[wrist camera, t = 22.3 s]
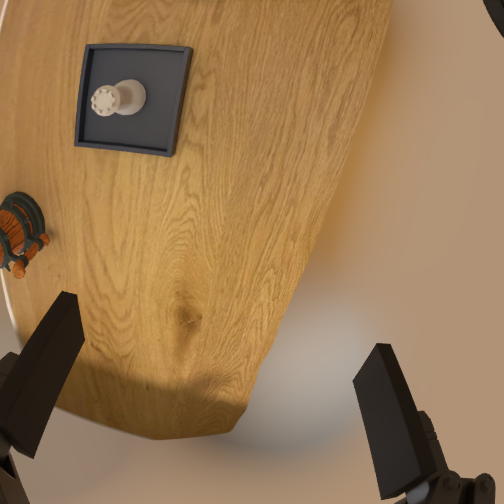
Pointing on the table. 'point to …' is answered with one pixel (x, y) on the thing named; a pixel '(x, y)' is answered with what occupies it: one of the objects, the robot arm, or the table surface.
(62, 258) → the table surface
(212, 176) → the table surface
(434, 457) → the robot arm
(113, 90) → the rook chess piece
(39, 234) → the mug
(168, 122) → the dark tray
